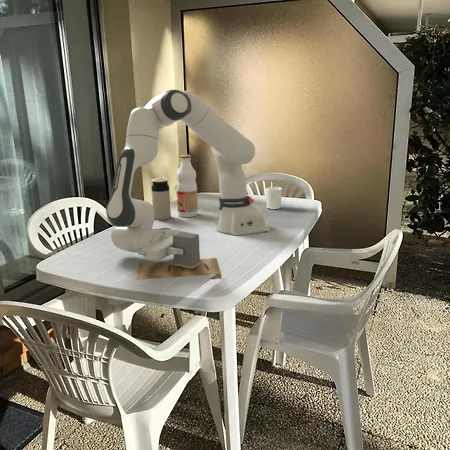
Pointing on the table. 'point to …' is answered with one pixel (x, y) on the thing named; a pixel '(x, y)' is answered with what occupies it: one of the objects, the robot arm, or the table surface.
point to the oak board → (178, 269)
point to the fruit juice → (186, 188)
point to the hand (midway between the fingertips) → (188, 248)
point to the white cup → (273, 197)
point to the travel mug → (161, 198)
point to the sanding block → (187, 249)
